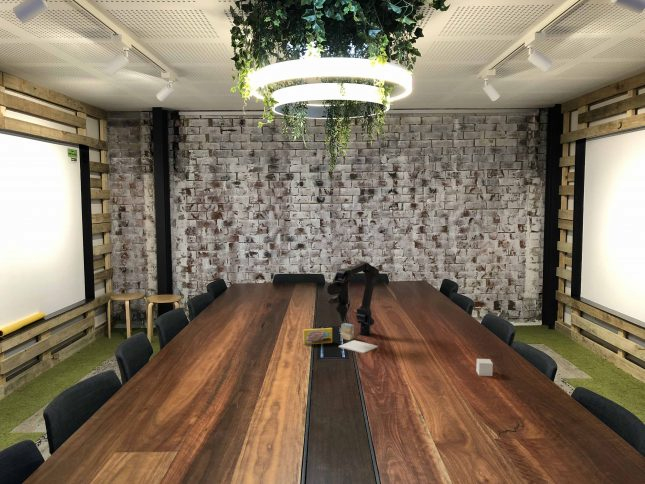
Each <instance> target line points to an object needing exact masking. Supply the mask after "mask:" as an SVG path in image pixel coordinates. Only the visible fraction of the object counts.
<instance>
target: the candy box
mask: <svg viewBox="0 0 645 484" xmlns="http://www.w3.org/2000/svg"><path fill="white" fill-rule="evenodd" d="M302 332H303V334H302V335H303V337H302V338H303V339H302V344H303V345H304V346H306V345H317V344H318V345H319V344H330V343H331V344H332V343H333V328H332V327H326V328H325V327H322V328H308V329H307V328H306V329H303V331H302Z"/></svg>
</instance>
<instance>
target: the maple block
mask: <svg viewBox="0 0 645 484" xmlns="http://www.w3.org/2000/svg"><path fill="white" fill-rule="evenodd" d="M354 328H355V324H351V323H347V322H345V323H342V324H341V325H340V339H343V340H345V341H347V340H348V341H352V340H355V339H354V336H355V335H354V334H355V333H354V332H355V329H354Z"/></svg>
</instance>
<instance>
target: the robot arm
mask: <svg viewBox="0 0 645 484" xmlns="http://www.w3.org/2000/svg"><path fill="white" fill-rule="evenodd" d="M361 272H362V273H363V274H364V277H363V278H364V281H365V285H364V291H363V295H362V299H361V300H362V302H361V305H360V307H359V308H358V307H357V308H356V314H355V317H356V321H357V324H360V327H359V328H360V330H359V332H358V333H357V334H358V335H362V336H367V337H368V336H371V335H372V334H374V332H372V330H371V329H372V326H373V325H374V324H375V320H374V319H373V317H372V309H371V302H372V297H373V292H374V286H375V284H376V282H377V281H378V280H379V276H380V270H379V269H378V268H376V267H375V266H374V265H372V264H371V263H369V262H366V261H361V262H360V263H357V264H355V265H353V266H349V267H346V268H339V269H337V270H336V272H335V275H334V276H333V280H332V281H331V282H329V285H328V286H327V288H326V292H327V294H328V295H330V296H331V297H329V298H328V299H327V301H328V304H329V306H332V305H334V304H337V305H336V306H335V311H336V312H337V313H339V316H340V319H341V322H342V323H343V322H345V319H346V317H347V315H348V312H349V310H350V306H351V305H352V299H351V298H350V291H349V285H350V284H351V283H352V281H351V280H350V279H352V278H353V276H354V275H357V274H359V273H361ZM334 295H335V296H334Z"/></svg>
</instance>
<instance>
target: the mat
mask: <svg viewBox="0 0 645 484" xmlns="http://www.w3.org/2000/svg"><path fill="white" fill-rule="evenodd" d="M378 347H379V345H376V344H372V343H367V342H363V341H359V340H356V339H352V340H349V341H347V342H346V343H343V344H340V345H338V348H340V349H344V350H349V351H352V352H356V353H359V354H365V353H367V352H370V351H372V350H374V349H376V348H378Z"/></svg>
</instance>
